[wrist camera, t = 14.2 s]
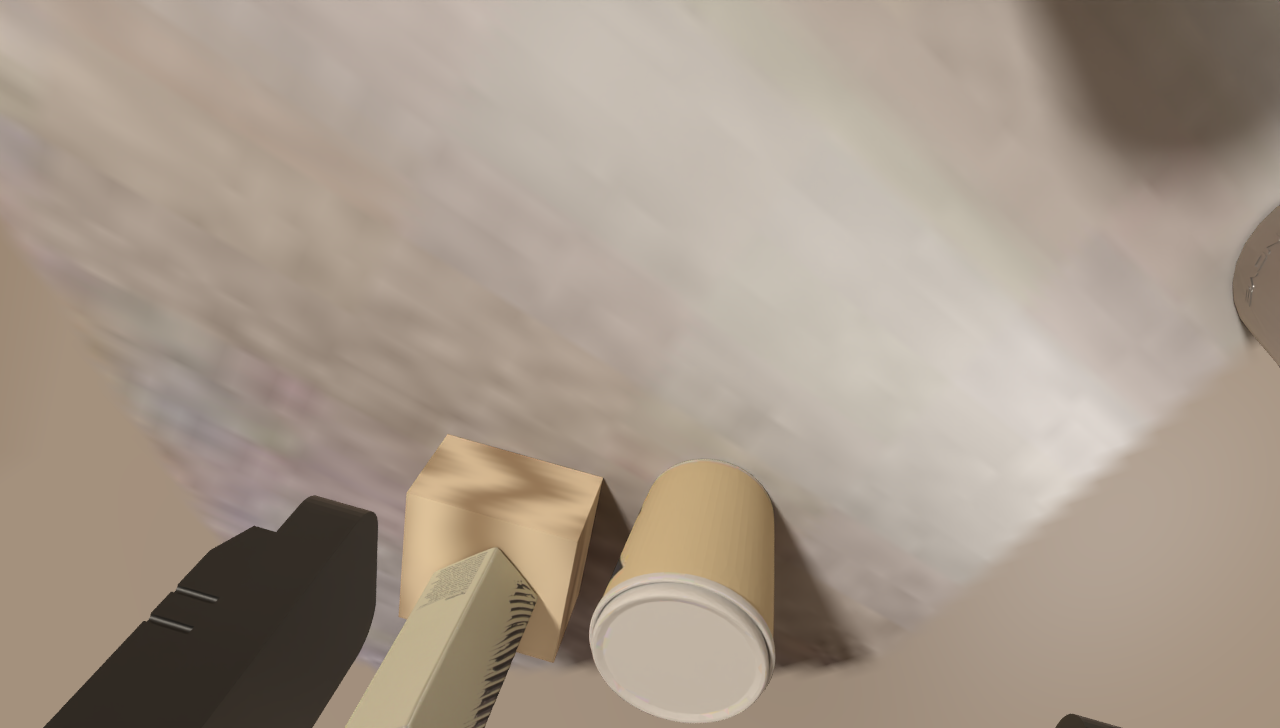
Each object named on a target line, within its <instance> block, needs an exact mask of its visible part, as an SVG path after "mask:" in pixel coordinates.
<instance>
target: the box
mask: <svg viewBox="0 0 1280 728" xmlns="http://www.w3.org/2000/svg"><path fill="white" fill-rule="evenodd" d="M537 600H538V597H537V595H536V594H535V593H534V591H533V590H532V589H531V587H530V586H529V585H528V584H527V582H526V581H525V579H524V578H523V577H522V576H521V574H520V573H519V572H518V571H517V569H516V568H515V567H514V566H513V565H512V563H511V562H510V561H509V560H508V559H507V558H506V556H505V555H504V554H503V553H502V552H501V550H500V549H499V548H497V547H495V548H491V549H488V550H486V551H483V552H480V553H478V554H475V555H473V556H470V557H468V558H466V559H463V560H461V561H459V562H456V563H454V564H452V565H449V566H447V567H445V568H442V569H440V570H438V571H436V572H434V574H433V575H432V577H431V579H430V580H429V582H428V584H427V586H426V587H425V589H424V591H423V593H422V595H421V596H420V598H419V600H418V602H417V603H416V605H415V607H414V609H413V610H412V612H411V614H410V616H409V617H408V619H407V621H406V622H405V624H404V626H403V628H402V629H401V631H400V633H399V635H398V636H397V638H396V640H395V642H394V643H393V645H392V647H391V648H390V650H389V652H388V654H387V655H386V657H385V659H384V661H383V662H382V664H381V666H380V668H379V669H378V671H377V673H376V674H375V676H374V678H373V680H372V681H371V683H370V685H369V686H368V688H367V690H366V692H365V694H364V695H363V697H362V699H361V701H360V702H359V704H358V706H357V707H356V709H355V711H354V713H353V714H352V716H351V718H350V720H349V721H348V723H347V725H346V726H345V728H485V725H486V722H487V720H488V717H489V715H490V713H491V710H492V707H493V705H494V703H495V701H496V699H497V696H498V694H499V691H500V689H501V687H502V684H503V682H504V679H505V677H506V675H507V672H508V670H509V668H510V665H511V662H512V660H513V658H514V656H515V653H516V650H517V648H518V646H519V644H520V641H521V638H522V636H523V634H524V631H525V629H526V627H527V624H528V622H529V619H530V617H531V614H532V612H533V610H534V607H535V604H536V603H537Z"/></svg>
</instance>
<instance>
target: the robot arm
mask: <svg viewBox="0 0 1280 728" xmlns="http://www.w3.org/2000/svg"><path fill="white" fill-rule="evenodd" d="M1233 296H1234V303H1235V306H1236V308H1237V311H1238V314H1239V317H1240V319H1241V320H1242V321H1243V323H1244V324H1245V325H1246V327H1247V328H1248V330H1249V331H1250V332H1251V333H1252V335H1253V336H1254V337H1255V338H1256V339H1257V341H1258V342H1259V343H1260V344H1261V345H1262V346H1263V347H1264V349H1265V350H1266V351H1267V352H1268V353H1269V355H1270V356H1271V357H1272V358H1273V359H1274V360H1275V362H1276V363H1277V364H1278V366H1279V367H1280V205H1279V206H1278V207H1276V208H1275V209H1274V210H1273V211H1272V212H1271V213H1270V214H1269V215H1268V216H1267V217H1266V218H1265V219H1264V220H1263V221H1262V222H1261V223H1260V224H1259V225H1258V226H1257V228H1256V229H1255V231H1254V232H1253V233H1252V235H1251V236H1250V237H1249V239H1248V240H1247V242H1246V243H1245V245H1244V247H1243V249H1242V252H1241V254H1240V256H1239V258H1238V261H1237V263H1236V268H1235V273H1234V278H1233ZM377 540H378V520H377V516H376V514H375V513H374V512H372V511H368V510H365V509H361V508H357V507H354V506H350V505H347V504H343V503H340V502H336V501H333V500H329V499H326V498H322V497H319V496H315V495H314V496H310V497H308V498H307V499H305V500H304V501H303V502H302V503H301V504H300V505H299V506H298V508H297V509H296V510H295V511H294V512H293V513H292V514H291V516H290V517H289V518H288V519H287V520H286V521H285V523H284V524H283V525H282V526H281V527H280V528H279V529H278V531H277V532H274V531H270V530H267V529H263V528H260V527H256V526H253V527H251V528H249V529H248V530H246V531H244V532H242V533H240V534H239V535H237V536H235V537H233V538H231V539H230V540H228V541H226V542H224V543H222V544H221V545H219V546H217V547H215V548H213V549H212V550H210V551H209V552H208V553H207V554H206V555H205V556H204V557H203V558H202V559H201V560H200V562H199V563H198V564H197V565H196V566H195V567H194V568H193V569H192V570H191V571H190V572H189V573H188V574H187V575H186V576H185V577H184V579H183V580H182V581H181V582H180V583H179V584H178V587H177V589H176V591H175V592H170V594H169V595H168V596H167V597H166V598H165V599H164V600H163V601H162V602H161V603H160V604H159V605H158V606H157V608H155V609H154V610H153V612H152V613H151V616H150V618H149V620H148V621H147V622H146V621H143V622H142V623H141V624H140V625H139V627H137V629H136V630H135V631H134V632H133V633H132V634H131V635H130V636H129V637H128V638H127V639H126V640H125V641H124V642H123V644H121V646H120V647H119V648H118V649H117V650H116V651H115V652H114V653H113V654H112V655H111V656H110V657H109V659H107V660H106V662H105V663H104V664H103V665H102V666H101V667H100V668H99V669H98V670H97V671H96V672H95V673H94V675H92V677H91V678H90V679H89V680H88V681H87V682H86V683H85V684H84V685H83V686H82V687H81V688H80V689H79V690H78V691H77V693H76V694H75V695H74V696H73V697H72V698H71V699H70V700H69V701H68V702H67V703H66V704H65V705H64V706H63V707H62V708H61V710H60V711H59V712H58V713H57V714H56V715H55V716H54V717H53V718H52V719H51V720H50V721H49V722H48V723H47V724H46V725H45V726H44V727H43V728H312V727H313V726H314V724H315V723H316V721H317V719H318V718H319V716H320V715H321V713H322V711H323V710H324V708H325V707H326V705H327V703H328V702H329V700H330V699H331V697H332V695H333V694H334V692H335V691H336V689H337V688H338V686H339V684H340V683H341V681H342V680H343V678H344V676H345V675H346V673H347V671H348V670H349V669H350V667H351V665H352V664H353V662H354V661H355V659H356V657H357V656H358V654H359V652H360V650H361V648H362V646H363V644H364V642H365V640H366V637H367V635H368V632H369V629H370V626H371V623H372V620H373V616H374V611H375V605H376V578H377ZM1056 728H1121V727H1117V726H1113V725H1110V724H1107V723H1103V722H1099V721H1096V720H1093V719H1089V718H1086V717H1082V716H1079V715H1075V714H1069V715H1066V716H1065V717H1064V718H1062V719H1061V720H1060V722H1059V723H1058V725H1057V726H1056Z"/></svg>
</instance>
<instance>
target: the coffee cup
mask: <svg viewBox="0 0 1280 728" xmlns="http://www.w3.org/2000/svg"><path fill="white" fill-rule="evenodd" d="M773 630H774V513H773V507H772V504H771V500H770V498H769V496H768V494H767V492H766V491H765V489H764V488H763V486H762V485H761V484H760V483H759V482H758V481H757V480H756V479H755V478H754V477H753V476H752V475H750V474H749V473H748V472H746V471H745V470H743V469H741V468H739V467H737V466H735V465H733V464H730V463H726V462H723V461H719V460H712V459H696V460H690V461H685V462H682V463H679V464H676V465H675V466H673V467H671V468H669V469H667V470H666V471H665V472H664V473H662V474H661V475H660V476H659V477H658V478H657V479H656V481H655V482H654V484H653V485H652V487H651V489H650V491H649V493H648V495H647V497H646V499H645V501H644V503H643V506H642V508H641V510H640V512H639V515H638V517H637V519H636V522H635V524H634V526H633V528H632V531H631V533H630V535H629V537H628V540H627V542H626V544H625V546H624V549H623V551H622V553H621V556H620V558H619V560H618V563H617V565H616V567H615V570H614V572H613V574H612V577H611V579H610V581H609V584H608V586H607V588H606V591H605V593H604V596H603V598H602V599H601V600H600V602H599V604H598V605H597V607H596V609H595V611H594V613H593V616H592V619H591V623H590V629H589V641H590V647H591V650H592V654H593V659H594V662H595V665H596V667H597V669H598V671H599V673H600V675H601V676H602V678H603V679H604V680H605V682H606V683H607V685H608V686H609V687H610V688H611V689H612V690H613V691H614V692H615V693H616V694H617V695H618V696H619V697H621V698H622V699H624V700H625V701H626V702H628V703H629V704H631V705H632V706H634V707H636V708H638V709H639V710H642V711H644V712H646V713H648V714H650V715H653V716H656V717H659V718H662V719H666V720H671V721H676V722H682V723H709V722H715V721H720V720H724V719H727V718H730V717H733V716H735V715H737V714H739V713H741V712H742V711H744V710H746V709H747V708H748V707H750V706H751V705H752V704H753V703H754V702H755V701H756V700H757V698H758V697H759V696H760V695H761V693H762V692H763V691H764V690H765V689H766V687H767V686H768V684H769V682H770V680H771V678H772V675H773V671H774V667H775V646H774V640H773Z"/></svg>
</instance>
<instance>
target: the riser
mask: <svg viewBox="0 0 1280 728" xmlns="http://www.w3.org/2000/svg"><path fill="white" fill-rule="evenodd" d="M602 481H603V478H602V477H598V476H595V475H591V474H588V473H584V472H581V471H577V470H573V469H570V468H566V467H563V466H559V465H556V464H552V463H548V462H545V461H541V460H538V459H534V458H531V457H527V456H523V455H520V454H516V453H513V452H509V451H506V450H502V449H498V448H495V447H491V446H488V445H484V444H481V443H477V442H473V441H470V440H466V439H463V438H459V437H456V436H452V435H447V436H446V437H445V439H444V440H443V442H442V443H441V445H440V446H439V447H438V449H437V450H436V452H435V453H434V455H433V456H432V457H431V459H430V460H429V462H428V463H427V465H426V466H425V467H424V469H423V470H422V472H421V473H420V475H419V476H418V477H417V479H416V480H415V482H414V483H413V485H412V486H411V487H410V489H409V490H408V492H407V496H406V512H405V528H404V543H403V559H402V574H401V590H400V605H399V617H401V618H405V619H408V617H409V616H410V614H411V612H412V610H413V609H414V607H415V605H416V603H417V602H418V600H419V598H420V596H421V595H422V593H423V591H424V589H425V587H426V586H427V584H428V582H429V580H430V579H431V577H432V575H433V574H434V572H436V571H438V570H440V569H442V568H445V567H447V566H449V565H452V564H454V563H456V562H459V561H461V560H463V559H466V558H468V557H470V556H473V555H475V554H478V553H480V552H483V551H486V550H488V549H491V548H495V547H497V548H499V549H500V550H501V552H502V553H503V554H504V555H505V556H506V558H507V559H508V560H509V561H510V562H511V563H512V565H513V566H514V567H515V568H516V569H517V571H518V572H519V573H520V574H521V576H522V577H523V578H524V579H525V581H526V582H527V584H528V585H529V586H530V587H531V589H532V590H533V591H534V593H535V594H536V595H537V597H538V600H537V603H536V604H535V607H534V610H533V612H532V614H531V617H530V619H529V622H528V624H527V627H526V629H525V631H524V634H523V636H522V638H521V641H520V644H519V646H518V648H517V650H516V652H519V653H522V654H525V655H529V656H532V657H535V658H539V659H542V660H545V661H549V662H552V663H554V660H555V657H556V655H557V652H558V649H559V646H560V644H561V641H562V638H563V636H564V633H565V630H566V628H567V625H568V622H569V619H570V617H571V614H572V611H573V609H574V606H575V603H576V600H577V598H578V595H579V591H580V586H581V581H582V577H583V572H584V567H585V562H586V557H587V553H588V548H589V543H590V538H591V533H592V529H593V524H594V519H595V514H596V509H597V505H598V500H599V495H600V490H601V486H602Z"/></svg>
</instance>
